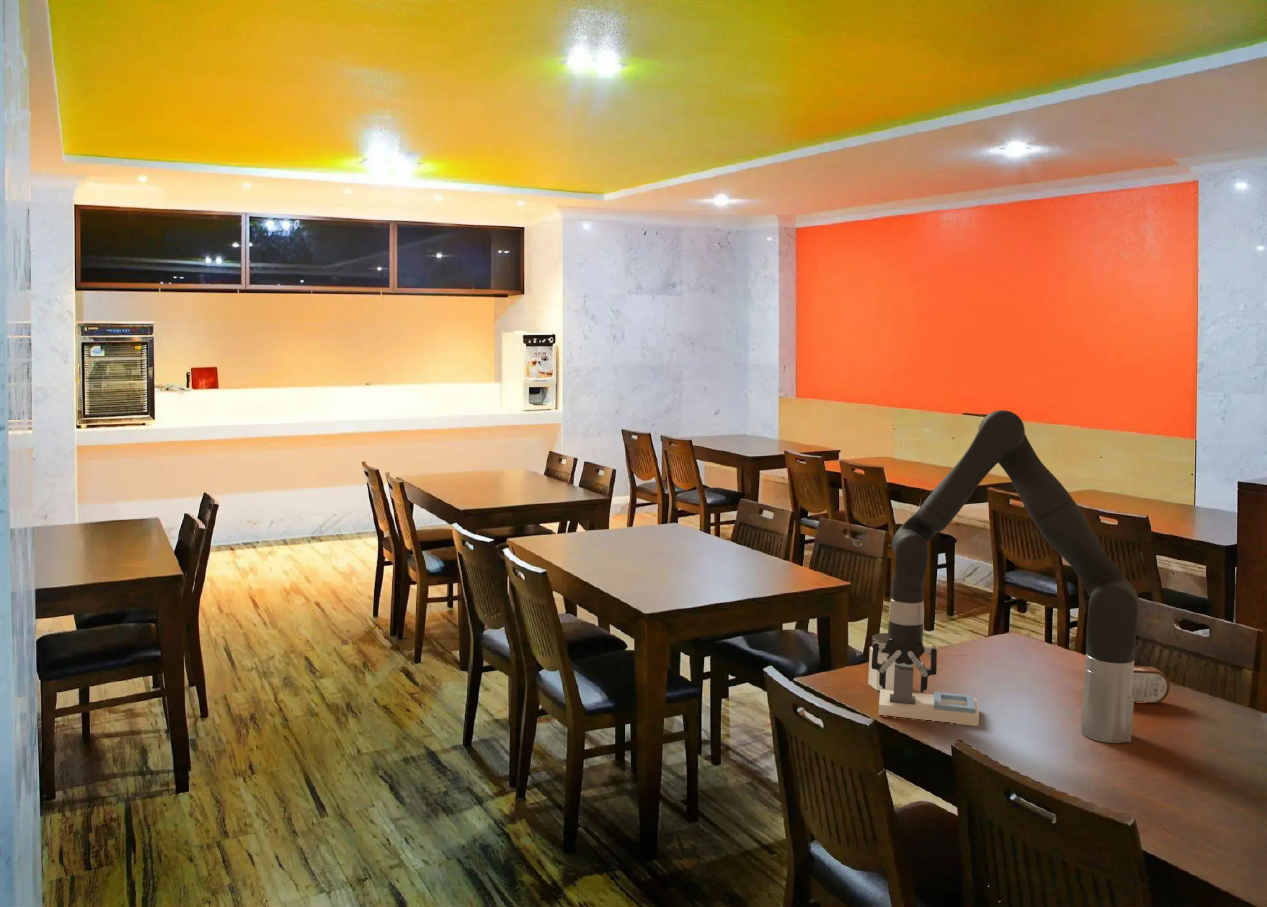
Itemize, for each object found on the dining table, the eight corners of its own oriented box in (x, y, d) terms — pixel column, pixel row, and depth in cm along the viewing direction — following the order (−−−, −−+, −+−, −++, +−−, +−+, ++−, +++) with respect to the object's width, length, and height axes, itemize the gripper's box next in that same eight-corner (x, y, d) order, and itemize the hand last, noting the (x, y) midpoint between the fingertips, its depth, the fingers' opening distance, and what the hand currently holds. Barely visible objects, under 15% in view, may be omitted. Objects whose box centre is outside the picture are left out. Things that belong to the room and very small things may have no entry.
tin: (1164, 701, 237) (1167, 666, 236) (1170, 706, 234) (1173, 670, 233) (1097, 698, 238) (1099, 663, 237) (1101, 703, 235) (1104, 667, 234)
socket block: (975, 709, 230) (976, 694, 230) (978, 726, 221) (979, 710, 220) (879, 699, 236) (880, 685, 235) (878, 715, 226) (879, 700, 226)
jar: (912, 691, 241) (914, 642, 239) (880, 694, 239) (882, 644, 238) (894, 678, 250) (896, 631, 248) (863, 681, 248) (865, 633, 246)
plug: (911, 707, 231) (913, 664, 230) (911, 714, 227) (913, 670, 226) (893, 705, 232) (894, 663, 231) (892, 712, 228) (894, 668, 227)
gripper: (939, 617, 229) (935, 687, 231) (873, 611, 232) (870, 680, 234) (940, 626, 221) (936, 698, 224) (872, 620, 225) (869, 691, 227)
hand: (902, 689), depth 229 cm, fingers open, 8 cm apart
